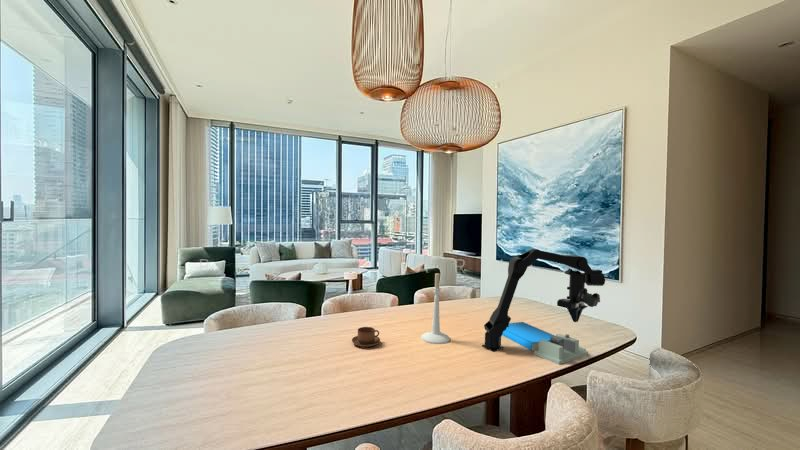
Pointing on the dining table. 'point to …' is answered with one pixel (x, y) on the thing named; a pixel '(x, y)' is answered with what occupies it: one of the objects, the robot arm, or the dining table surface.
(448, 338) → the candlestick
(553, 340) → the block
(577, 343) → the jaw
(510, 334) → the book
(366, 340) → the cup and saucer
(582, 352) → the vise
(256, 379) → the dining table surface
